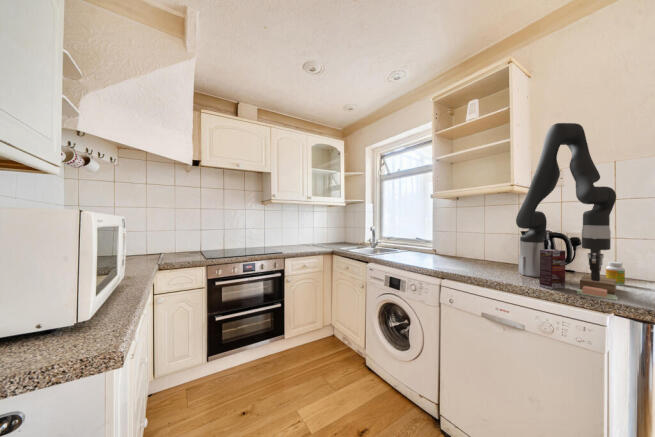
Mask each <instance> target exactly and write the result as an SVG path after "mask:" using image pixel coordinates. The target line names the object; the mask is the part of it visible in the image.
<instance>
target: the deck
mask: <svg viewBox="0 0 655 437" xmlns="http://www.w3.org/2000/svg"><path fill="white" fill-rule="evenodd" d="M583 286H588V287H595V288H601V289H607V294H611V295H616V290H617V285H616V279H609V278H606V277H601V276H600V281H592V280H591V275H585V274H584V275H583V276H582V277H581V278H580V279H579V290H582V288H583Z"/></svg>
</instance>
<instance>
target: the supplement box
mask: <svg viewBox="0 0 655 437" xmlns="http://www.w3.org/2000/svg"><path fill="white" fill-rule="evenodd" d="M566 251H567V250H564V249H557V248H556V249H553V248H551V249H544V250H540V277H539V280H538V281H539V284H538V286H539V287H541V288H544V287H545V288H546V289H548V290H549V289H550V290H555V289H565V288H566V253H567V252H566Z"/></svg>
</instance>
